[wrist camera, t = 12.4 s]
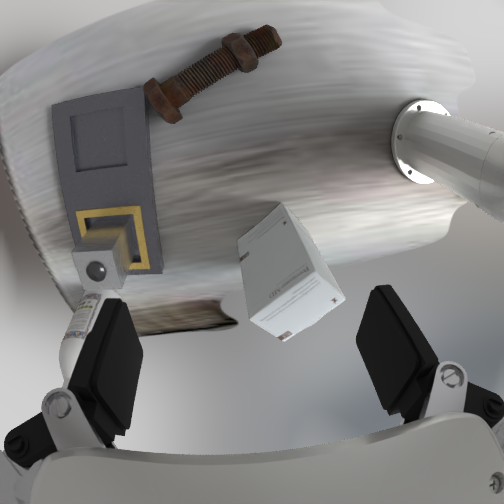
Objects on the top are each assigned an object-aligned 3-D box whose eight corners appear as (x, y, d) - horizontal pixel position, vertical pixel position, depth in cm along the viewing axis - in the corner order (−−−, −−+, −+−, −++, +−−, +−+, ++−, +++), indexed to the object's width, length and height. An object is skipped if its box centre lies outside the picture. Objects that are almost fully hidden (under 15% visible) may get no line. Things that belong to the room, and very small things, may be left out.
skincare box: (281, 200, 37) (317, 264, 24) (308, 230, 40) (351, 299, 27) (233, 242, 39) (245, 320, 27) (263, 268, 42) (285, 346, 29)
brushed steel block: (129, 218, 34) (110, 251, 27) (135, 252, 37) (121, 290, 30) (94, 221, 34) (70, 254, 27) (102, 254, 36) (82, 291, 29)
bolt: (271, 45, 28) (164, 109, 31) (255, 13, 24) (140, 81, 26) (295, 59, 26) (174, 132, 28) (280, 21, 21) (145, 100, 23)
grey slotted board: (147, 86, 28) (143, 86, 26) (163, 266, 40) (162, 274, 38) (58, 104, 26) (50, 105, 24) (88, 269, 38) (83, 276, 37)
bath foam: (78, 301, 41) (38, 403, 24) (94, 275, 39) (48, 384, 22) (112, 322, 44) (86, 427, 27) (131, 299, 42) (104, 412, 25)
